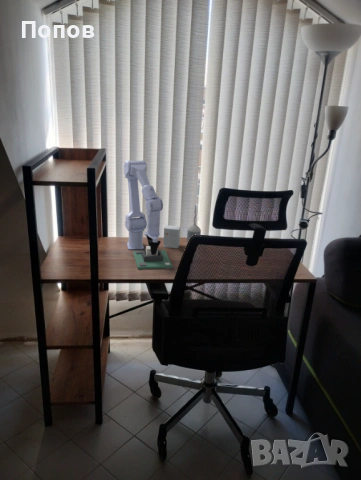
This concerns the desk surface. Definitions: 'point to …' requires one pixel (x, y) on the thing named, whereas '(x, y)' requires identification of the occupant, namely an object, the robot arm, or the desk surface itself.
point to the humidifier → (193, 228)
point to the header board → (152, 260)
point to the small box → (171, 236)
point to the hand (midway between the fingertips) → (152, 251)
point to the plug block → (148, 251)
